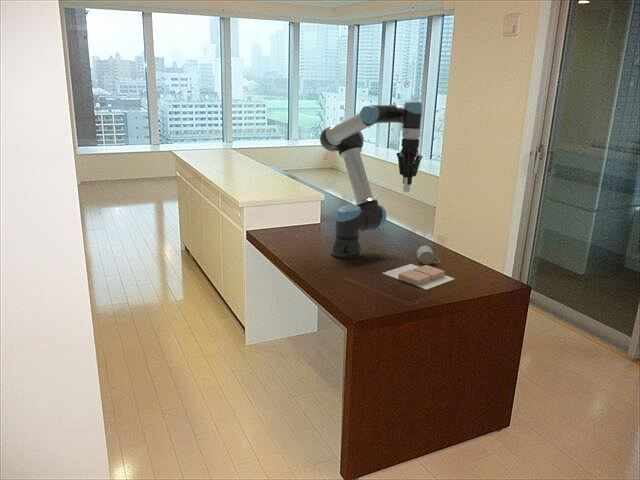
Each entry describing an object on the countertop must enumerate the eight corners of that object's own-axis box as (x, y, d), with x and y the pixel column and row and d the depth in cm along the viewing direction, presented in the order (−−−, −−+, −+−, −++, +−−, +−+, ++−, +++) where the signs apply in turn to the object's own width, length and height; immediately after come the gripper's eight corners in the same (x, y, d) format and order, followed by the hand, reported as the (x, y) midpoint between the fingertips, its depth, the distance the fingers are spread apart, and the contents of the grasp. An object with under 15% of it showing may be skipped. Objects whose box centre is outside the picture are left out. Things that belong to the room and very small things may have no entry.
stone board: (381, 275, 231) (381, 273, 231) (410, 266, 244) (410, 263, 244) (426, 292, 214) (426, 289, 214) (454, 281, 227) (455, 278, 227)
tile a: (398, 273, 223) (417, 280, 216) (412, 269, 229) (430, 275, 222) (398, 279, 224) (416, 286, 217) (411, 274, 230) (430, 281, 223)
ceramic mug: (418, 266, 245) (420, 250, 242) (415, 260, 253) (417, 244, 250) (441, 267, 245) (443, 251, 242) (438, 261, 252) (439, 246, 250)
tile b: (413, 268, 230) (432, 275, 223) (426, 264, 236) (444, 270, 229) (413, 274, 231) (431, 280, 223) (425, 269, 236) (444, 276, 229)
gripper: (393, 137, 232) (389, 189, 239) (417, 140, 223) (412, 194, 230) (404, 136, 237) (400, 188, 244) (428, 139, 228) (423, 193, 235)
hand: (406, 191), depth 237 cm, fingers closed
